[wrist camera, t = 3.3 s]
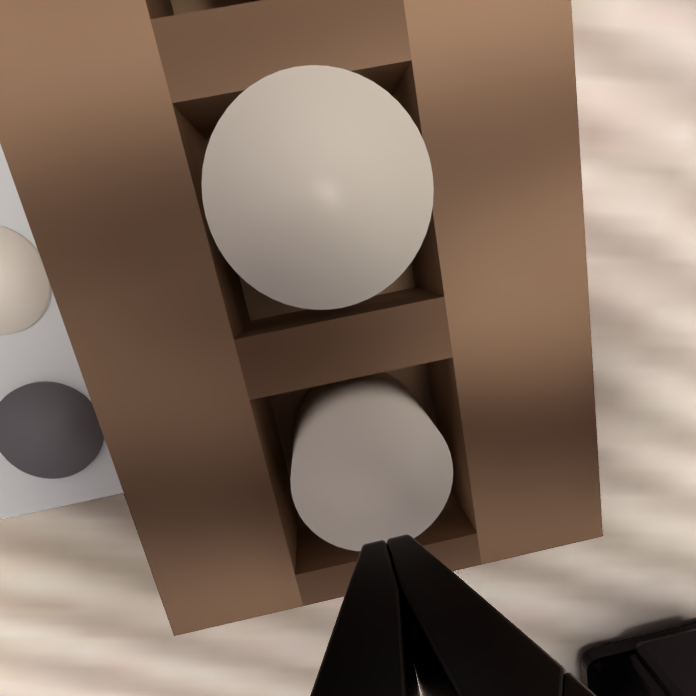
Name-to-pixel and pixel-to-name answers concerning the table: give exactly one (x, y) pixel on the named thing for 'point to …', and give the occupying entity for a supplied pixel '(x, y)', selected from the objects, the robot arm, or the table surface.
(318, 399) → the button
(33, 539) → the table surface
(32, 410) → the card
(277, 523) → the button board
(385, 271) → the button middle
